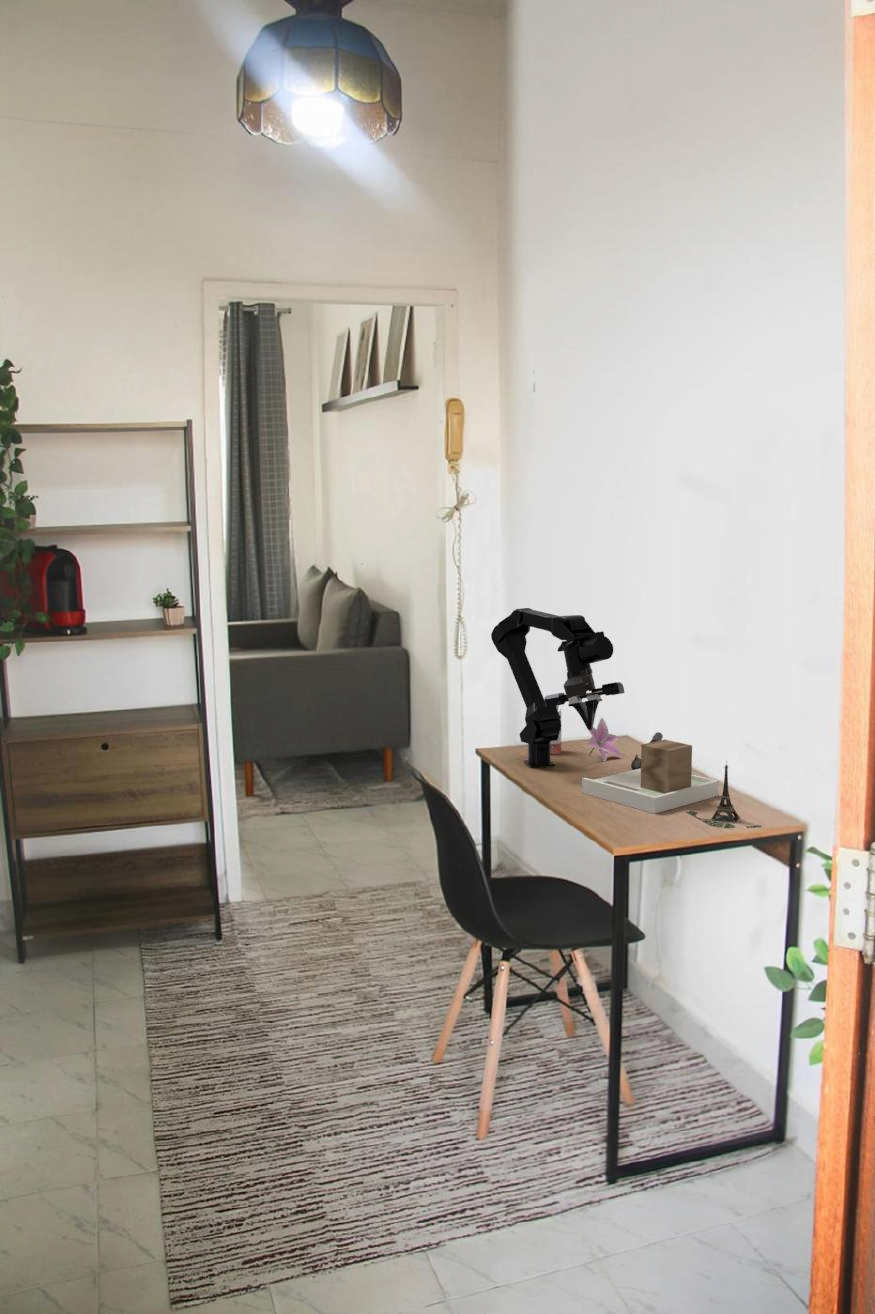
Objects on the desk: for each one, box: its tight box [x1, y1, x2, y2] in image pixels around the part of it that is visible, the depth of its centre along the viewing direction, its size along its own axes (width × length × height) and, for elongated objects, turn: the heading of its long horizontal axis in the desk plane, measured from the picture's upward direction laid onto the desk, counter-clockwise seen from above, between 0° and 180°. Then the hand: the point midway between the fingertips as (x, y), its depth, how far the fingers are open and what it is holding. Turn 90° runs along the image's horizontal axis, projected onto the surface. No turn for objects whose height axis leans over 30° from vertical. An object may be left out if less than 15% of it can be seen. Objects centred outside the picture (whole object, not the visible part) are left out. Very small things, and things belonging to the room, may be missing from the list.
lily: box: [586, 717, 623, 763], centre depth 290 cm, size 12×12×10 cm
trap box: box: [581, 767, 720, 815], centre depth 255 cm, size 22×22×4 cm
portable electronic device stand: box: [630, 731, 663, 771], centre depth 279 cm, size 9×8×8 cm
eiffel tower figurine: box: [685, 760, 761, 829], centre depth 235 cm, size 15×10×13 cm
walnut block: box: [640, 739, 693, 794], centre depth 250 cm, size 8×8×10 cm
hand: (590, 729), depth 266 cm, fingers closed
